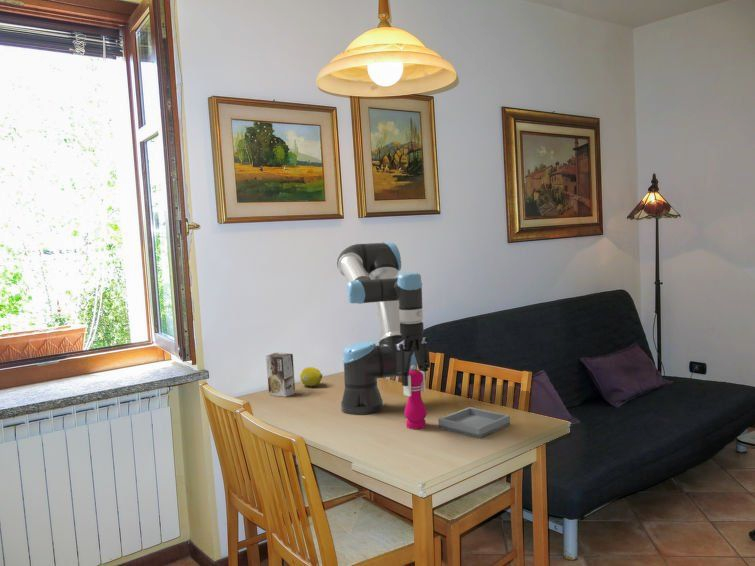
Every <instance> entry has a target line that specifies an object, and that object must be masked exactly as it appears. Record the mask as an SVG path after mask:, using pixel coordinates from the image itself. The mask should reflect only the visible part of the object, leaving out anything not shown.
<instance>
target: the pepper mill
mask: <svg viewBox="0 0 755 566" xmlns="http://www.w3.org/2000/svg"><path fill="white" fill-rule="evenodd" d="M409 375H410V376H411V396H408V398H407V402H406V404H405V407H404V411H403V412H404V413H403V414H404V417H405V418H406V419H407V420H405V423H406V425H405V426H406V428H407V429H410V430H421V429H424V428H425V427H427V422H426V421H427V420H426V419H425V418H426V417H427V415H428V412H427V408H426V405H425V403H424V401H423V397H422V391H421V390H422V384H421V383H422V381H423V374H422V373H421V372H420V370H419V369H417V366H415V365H412V366H411V370H409Z"/></svg>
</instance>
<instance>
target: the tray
mask: <svg viewBox="0 0 755 566" xmlns="http://www.w3.org/2000/svg"><path fill="white" fill-rule="evenodd" d="M510 425H511V416H510V414H509V415H508V414H505V413H504V414H503V413H499V412H496V411H495V412H494V411H489V410H485V409H480V408H475V407H472V406H469V407H466V408H463V409H461V410H458V411H456V412H453V413H450V414H448V415H444V416H443V417H442V416H441V417H440V418H438V429H443V430H446V431H449V432H453V433H456V434H461V435H465V436H469V437H472V438H477V439H482V438H484V437H486V436H488V435H490V434H493V433H495V432H498V431H500V430H503V429H505V428H506V427H508V426H510Z"/></svg>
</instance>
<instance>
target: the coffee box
mask: <svg viewBox="0 0 755 566" xmlns="http://www.w3.org/2000/svg"><path fill="white" fill-rule="evenodd" d="M265 360H266V363H265V364H266V373H267V387H268V395H269V396H275V397H276V396H277V397H285V398H287V397H289V396H292V395H294V394H296V387H295V386H296V384H295V382H296V381H295V369H294V355H293V353H286V352H285V353H284V352H274V353H271V354H268V355H266V356H265Z"/></svg>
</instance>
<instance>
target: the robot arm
mask: <svg viewBox="0 0 755 566" xmlns="http://www.w3.org/2000/svg"><path fill="white" fill-rule="evenodd" d="M336 266H337V269H338V271H339V273H340V274H341V275H342V276H344V277H345V279H346V281H347V285H346V291H347V292H346V294H347V301H348V303H349V304H358V305H360V304H370V303H371V304H372V303H376V306H377V314H378V318H379V319H378V320H379V326H380V334H381V338H380V340H378V345H376V343H375V342H374V341H361V342H357V343H356V342H355V343H353V344H350V345H348V346H346V347H345V348H344V349H343V353H342V354H343V356H342V357H343V360H342V363H343V372H344V373H343V375H344V391H343V395H342V400H341V402H340V410H341V412H344V413H345V414H351V415H364V414H365V415H367V414H373V413H376V412H379V411H381V410H382V409H384V401H383V399H382V396H381V393H380V390H379V386H378V379H381V378H383V379H384V378H385V379H386V378H395V377H401V385H402V387H403V388H402V389H403V396H407V397H409V396H411V376H410V375H409V370H411V366H412V365H415V366H416V367H417V368H418V370H419V371H420V372H421V373H422V374H423V381H422V383H421V384H422V390H421V392H423V393H425V392H426V380H427V373H426V372H428V371H429V369H430V368H431V359H430V348H429V343H430V339H429V337H424V336H423V334H424V333H425V332H424V330H425V328H424V322H423V320H424V315H423V313H424V311H423V307H424V306H423V282H422V276H421V274H420V272H419V273H418V272H408V273H407V272H405V273H400V274H399V272H401V271H400V270H401V269H402V258H401V253H400V250H399V248H398V246H397V245H396V244H395V243H394V242H386V241H385V242H384V241H382V242H375V243H374V242H373V243H371V242H370V243H356V244H352V245H350V246H347V247H346V248H345V249H343V250H342V251H341V252H340V254H339V256H338V257H337V262H336Z"/></svg>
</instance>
